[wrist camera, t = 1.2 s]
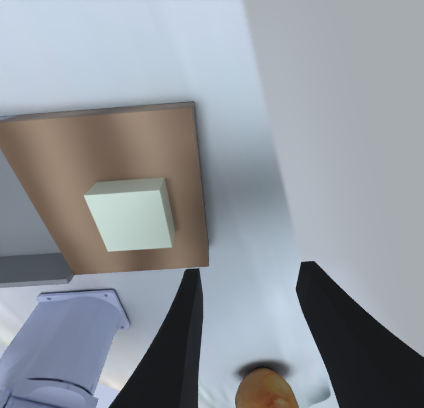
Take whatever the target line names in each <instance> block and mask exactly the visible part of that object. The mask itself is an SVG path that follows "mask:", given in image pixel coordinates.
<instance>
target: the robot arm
mask: <svg viewBox="0 0 424 408" xmlns="http://www.w3.org/2000/svg"><path fill="white" fill-rule="evenodd" d="M296 292H297V296H298V299H299V303H300V306H301V309H302V312H303V314H304V317H305V319H306V321H307V324H308V326H309V329H310V331H311V333H312V336H313V338H314V340H315V343H316V345H317V347H318V350H319V352H320V354H321V357H322V359H323V361H324V364H325V366H326V369H327V372H328V374H329V377H330V380H331V383H332V386H333V389H334V392H335V395H336V398H337V402H338V404H339V407H340V408H424V357H422V356H421V355H419V354H418V353H417V352H416V351H414V350H413V349H412V348H410V347H409V346H408V345H406V344H405V343H404V342H403V341H401V340H400V339H399V338H397V337H396V336H395V335H394V334H392V333H391V332H390V331H389V330H387V329H386V328H385V327H384V326H382V325H381V324H380V323H379V322H378V321H377V320H375V319H374V318H373V317H372V316H371V315H370V314H369V313H367V312H366V311H365V310H364V309H363V308H362V307H361V306H360V305H359V304H357V303H356V302H355V301H354V300H353V299H352V298H351V297H350V296H349V295H348V294H347V293H346V292H345V291H344V290H343V289H342V288H340V287H339V286H338V285H337V284H336V283H335V282H334V281H333V280H332V279H331V278H330V277H329V276H328V275H327V274H326V273H325V271H324V270H323V269H322V268H320V266H319V265H318V264H317V263H316V262H314V261H308V262H301V266H300V271H299V276H298V281H297V285H296ZM37 300H38V301H39V302H40V303H39V304H38V305H37V307H36V308H35V310H34V311H33V312H32V314H31V315H30V317H29V318H28V319H27V321H26V322H25V324H24V325H23V326H22V328H21V329H20V331H19V332H18V333H17V335H16V336H15V338H14V339H13V340H12V342H11V343H10V345H9V346H8V347H7V349H6V350H5V352H4V354H3V356H2V357H1V359H0V408H96V405H97V402H98V398H95V397H93V395H94V392H95V389H96V386H97V383H98V381H99V378H100V375H101V372H102V369H103V366H104V363H105V360H106V358H107V355H108V352H109V349H110V346H111V343H112V340H113V337H114V334H115V332H116V330H118V329H128V328H130V323H129V321H128V319H127V317H126V315H125V313H124V310H123V308H122V306H121V304H120V302H119V300H118V298H117V296H116V293H115V292H114V291H113V290H102V291H85V292H69V293H53V294H40V295H38V297H37ZM202 324H203V292H202V285H201V278H200V271H199V268H197V269H186V270H185V272H184V275H183V278H182V281H181V284H180V286H179V289H178V291H177V294H176V296H175V299H174V301H173V303H172V305H171V307H170V310H169V312H168V314H167V316H166V318H165V320H164V322H163V323H162V325H161V327H160V329H159V331H158V333H157V335H156V337H155V338H154V340H153V342H152V344H151V345H150V347H149V349H148V350H147V352H146V354H145V355H144V357H143V359H142V360H141V362H140V363H139V365H138V366H137V368H136V369H135V371H134V372H133V374H132V375H131V377H130V378H129V380H128V381H127V383H126V384H125V386H124V387H123V389H122V390H121V391H120V393H119V394H118V395H117V397H116V398H115V400H114V401H113V402H112V404H111V405H110V406H109V408H198V372H199V359H200V347H201V336H202Z"/></svg>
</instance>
